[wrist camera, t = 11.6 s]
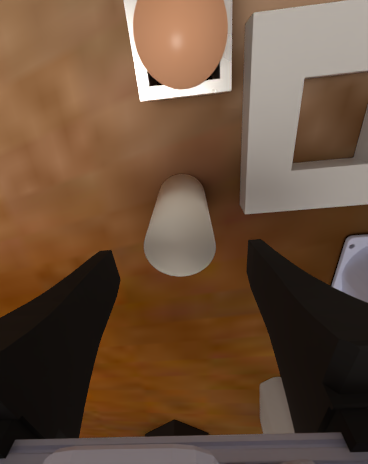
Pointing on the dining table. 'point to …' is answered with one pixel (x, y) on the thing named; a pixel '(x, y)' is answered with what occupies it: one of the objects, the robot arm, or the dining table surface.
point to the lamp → (175, 430)
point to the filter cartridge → (180, 228)
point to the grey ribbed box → (274, 408)
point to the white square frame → (298, 106)
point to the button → (180, 39)
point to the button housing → (208, 87)
